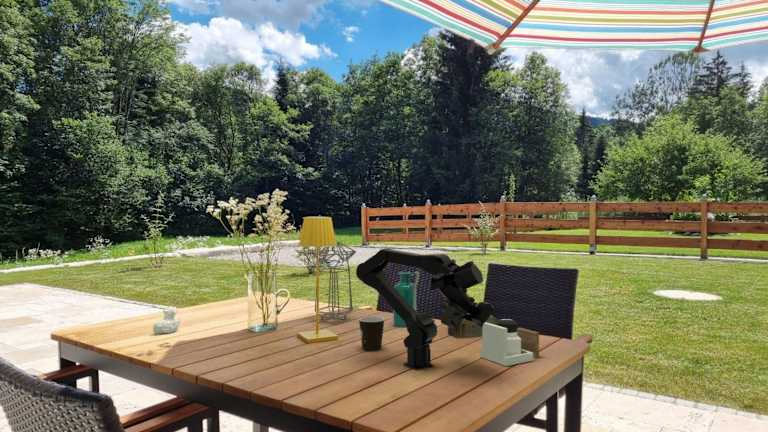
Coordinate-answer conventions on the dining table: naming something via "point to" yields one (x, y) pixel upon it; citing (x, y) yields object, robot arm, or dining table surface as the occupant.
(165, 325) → the bust
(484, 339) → the white angle bracket
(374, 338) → the coffee mug
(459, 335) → the beverage carton
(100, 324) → the dining table surface
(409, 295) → the teal tall bottle shape
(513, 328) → the medicine bottle
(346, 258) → the geometric lantern
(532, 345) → the wall
